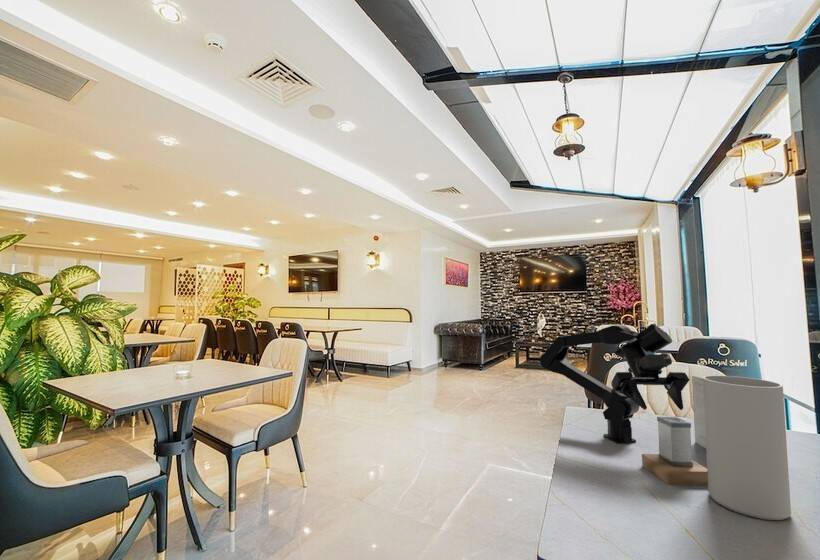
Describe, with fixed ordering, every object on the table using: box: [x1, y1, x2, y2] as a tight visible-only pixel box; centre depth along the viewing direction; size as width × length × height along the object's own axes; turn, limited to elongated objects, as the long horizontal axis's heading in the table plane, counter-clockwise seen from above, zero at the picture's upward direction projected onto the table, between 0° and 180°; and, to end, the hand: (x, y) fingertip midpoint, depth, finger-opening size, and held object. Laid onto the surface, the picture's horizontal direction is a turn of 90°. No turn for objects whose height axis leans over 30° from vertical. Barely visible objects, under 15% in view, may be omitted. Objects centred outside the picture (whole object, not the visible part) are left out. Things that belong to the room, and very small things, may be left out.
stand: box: [641, 453, 708, 486], centre depth 89 cm, size 10×10×3 cm
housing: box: [656, 416, 693, 467], centre depth 90 cm, size 5×5×10 cm
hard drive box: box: [691, 375, 706, 449], centre depth 104 cm, size 16×8×20 cm, turn 169°
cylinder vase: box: [703, 375, 792, 521], centre depth 77 cm, size 12×12×25 cm
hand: (663, 408), depth 98 cm, fingers open, 9 cm apart
